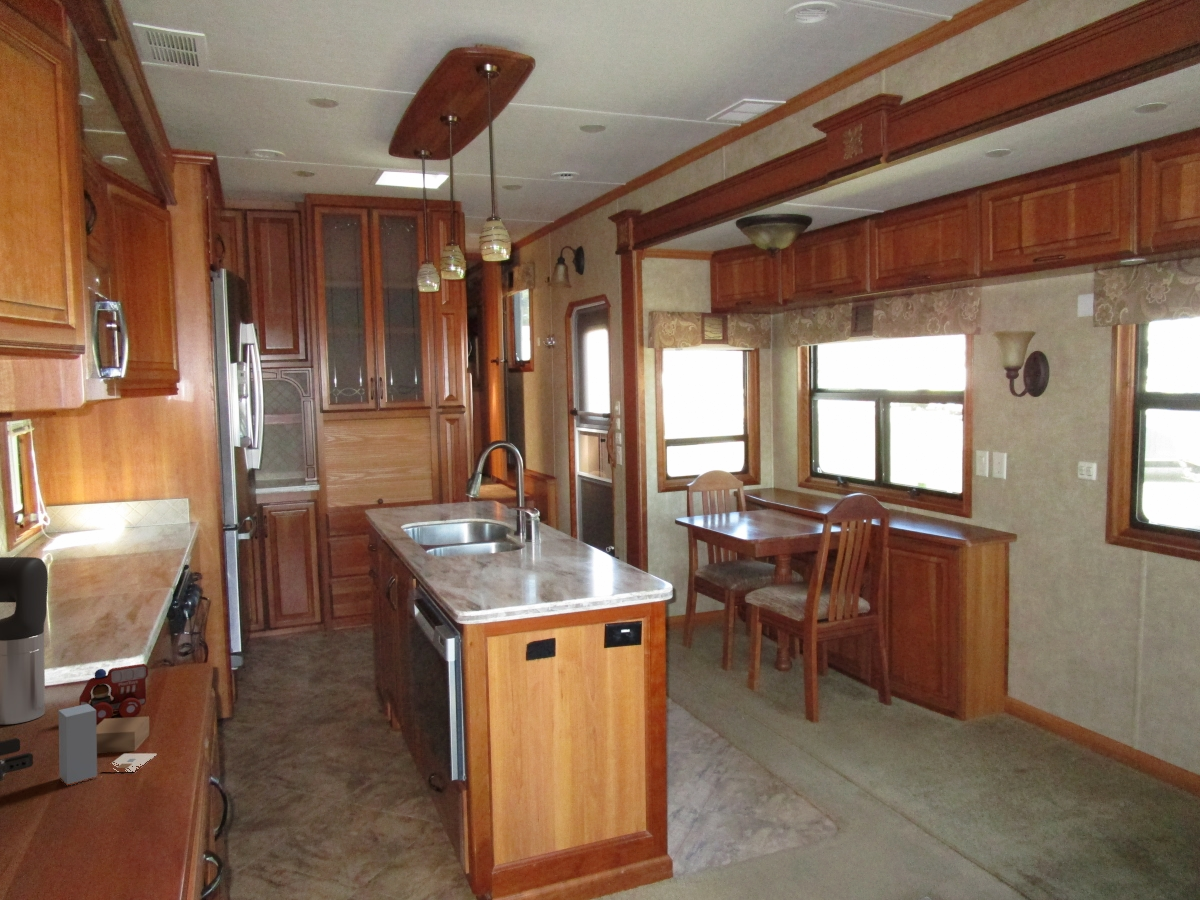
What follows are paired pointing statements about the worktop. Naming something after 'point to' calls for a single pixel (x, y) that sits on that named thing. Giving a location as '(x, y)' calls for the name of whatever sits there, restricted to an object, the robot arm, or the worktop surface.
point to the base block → (121, 734)
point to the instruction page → (132, 761)
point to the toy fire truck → (117, 691)
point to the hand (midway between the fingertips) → (25, 751)
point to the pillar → (77, 743)
